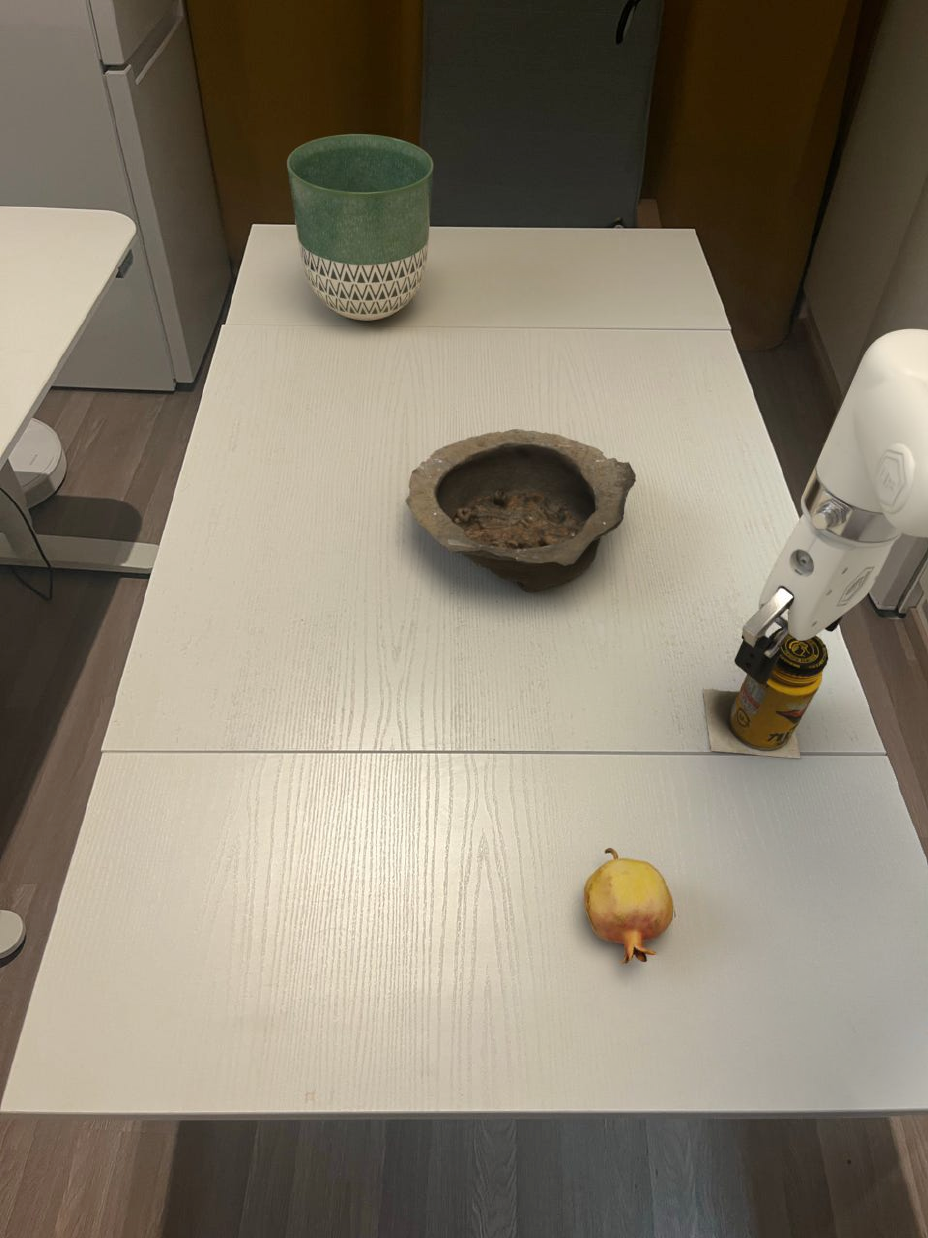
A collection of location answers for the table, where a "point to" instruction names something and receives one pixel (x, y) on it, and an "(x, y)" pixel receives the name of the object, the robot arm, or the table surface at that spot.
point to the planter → (362, 220)
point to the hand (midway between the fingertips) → (785, 646)
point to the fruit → (628, 904)
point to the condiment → (768, 703)
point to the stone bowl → (521, 503)
